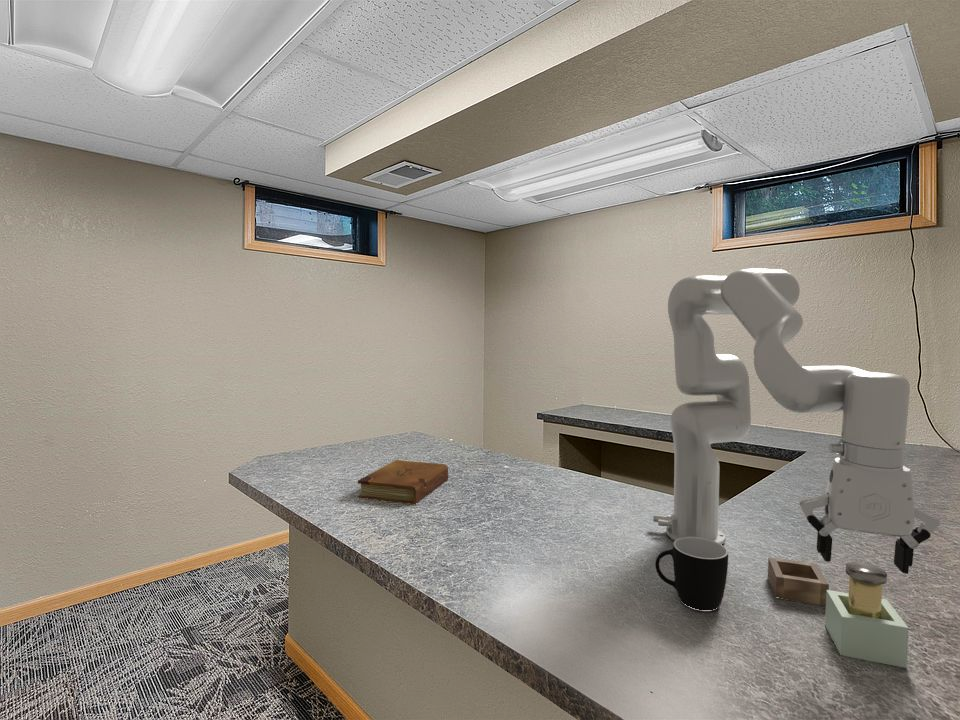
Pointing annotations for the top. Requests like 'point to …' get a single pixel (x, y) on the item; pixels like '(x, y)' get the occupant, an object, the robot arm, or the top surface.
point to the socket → (867, 632)
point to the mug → (697, 571)
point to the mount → (797, 581)
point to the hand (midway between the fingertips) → (862, 563)
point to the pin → (865, 589)
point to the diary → (403, 481)
